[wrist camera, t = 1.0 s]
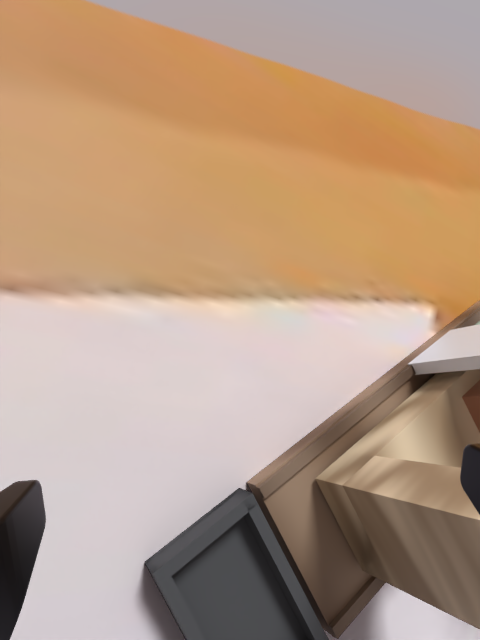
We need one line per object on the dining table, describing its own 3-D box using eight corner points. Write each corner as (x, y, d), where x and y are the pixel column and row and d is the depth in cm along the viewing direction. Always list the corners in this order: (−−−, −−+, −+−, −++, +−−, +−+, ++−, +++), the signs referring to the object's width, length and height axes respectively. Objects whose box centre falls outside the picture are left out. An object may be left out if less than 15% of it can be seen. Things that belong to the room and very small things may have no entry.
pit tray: (233, 729, 19) (248, 753, 17) (144, 561, 19) (152, 574, 17) (315, 635, 21) (334, 650, 20) (239, 487, 21) (252, 493, 20)
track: (322, 628, 22) (338, 640, 20) (246, 482, 21) (258, 486, 20) (526, 398, 33) (543, 398, 32) (478, 300, 33) (494, 297, 32)
